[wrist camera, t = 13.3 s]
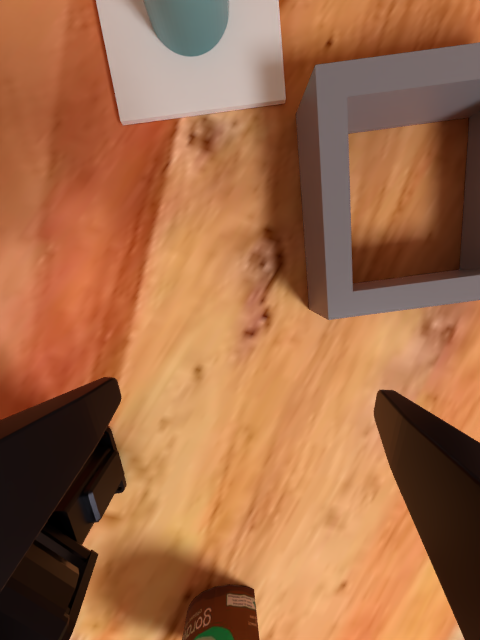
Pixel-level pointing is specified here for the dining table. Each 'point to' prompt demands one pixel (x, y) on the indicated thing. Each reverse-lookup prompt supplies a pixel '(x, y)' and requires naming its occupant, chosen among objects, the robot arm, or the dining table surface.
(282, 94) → the white mat
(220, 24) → the teal bottle
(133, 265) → the dining table surface
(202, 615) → the food container
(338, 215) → the frame
